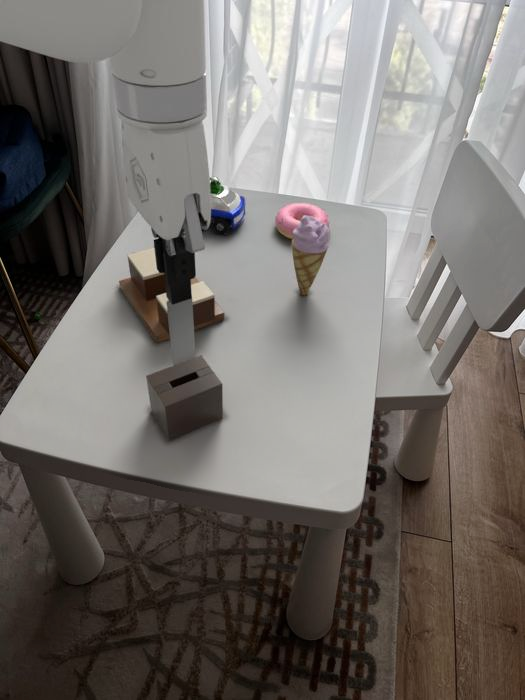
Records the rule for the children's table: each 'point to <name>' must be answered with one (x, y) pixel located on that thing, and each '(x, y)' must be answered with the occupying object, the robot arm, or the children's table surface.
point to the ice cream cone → (309, 250)
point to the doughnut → (297, 217)
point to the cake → (146, 274)
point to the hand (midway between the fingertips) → (176, 273)
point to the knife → (180, 317)
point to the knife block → (185, 397)
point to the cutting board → (156, 310)
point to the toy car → (225, 207)
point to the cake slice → (200, 301)
